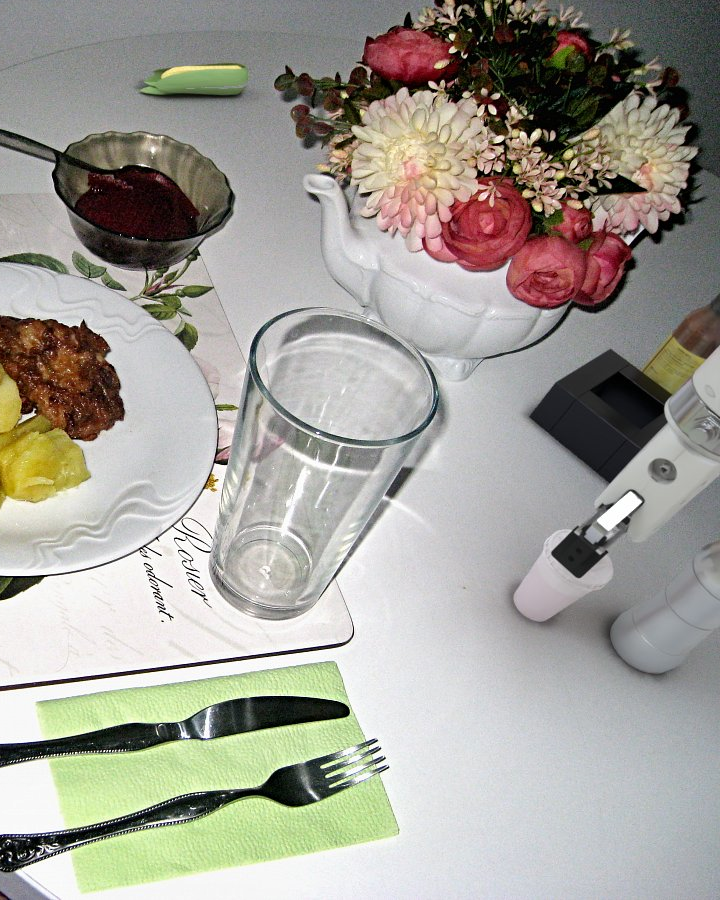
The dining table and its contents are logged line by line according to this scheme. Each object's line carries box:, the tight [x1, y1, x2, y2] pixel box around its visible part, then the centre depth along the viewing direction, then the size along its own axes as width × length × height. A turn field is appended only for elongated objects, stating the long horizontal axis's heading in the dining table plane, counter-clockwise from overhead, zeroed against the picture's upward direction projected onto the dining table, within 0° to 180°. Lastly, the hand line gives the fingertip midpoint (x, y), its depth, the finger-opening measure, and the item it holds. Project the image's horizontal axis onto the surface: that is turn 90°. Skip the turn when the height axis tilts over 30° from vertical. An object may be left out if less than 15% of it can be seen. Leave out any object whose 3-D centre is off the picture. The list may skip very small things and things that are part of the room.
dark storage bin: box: [528, 348, 672, 484], centre depth 108 cm, size 13×13×7 cm
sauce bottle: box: [639, 292, 720, 395], centre depth 110 cm, size 6×6×20 cm
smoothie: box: [513, 528, 617, 623], centre depth 86 cm, size 6×6×14 cm
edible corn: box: [139, 62, 251, 96], centre depth 148 cm, size 5×20×5 cm, turn 112°
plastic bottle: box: [610, 539, 720, 675], centre depth 83 cm, size 6×7×20 cm
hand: (592, 542), depth 82 cm, fingers open, 9 cm apart
